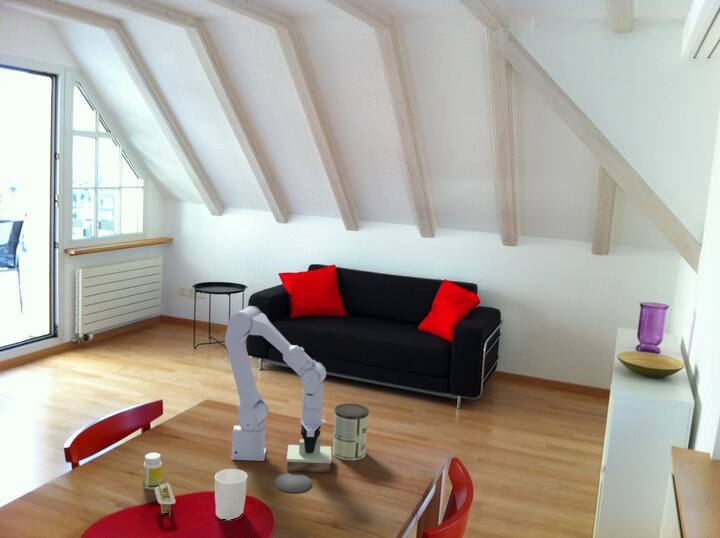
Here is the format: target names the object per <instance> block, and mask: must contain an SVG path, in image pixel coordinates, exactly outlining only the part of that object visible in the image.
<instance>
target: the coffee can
mask: <svg viewBox="0 0 720 538" xmlns="http://www.w3.org/2000/svg"><path fill="white" fill-rule="evenodd" d="M369 413H370V410H369V408H368V407H366V406H365V405H362V404H357V403H342V404H339V405H336V406H335V408H334V420H333V423H334V424H333V442H332V444H333V445H332V446H333V447H332V451H331V454H332V455H333V456H334V457H335V458H337V459H340V460H342V461H358V460H362V459H364V458H365V457H366V455H367V454H366V453H367V452H366V451H367V437H368V422H369Z"/></svg>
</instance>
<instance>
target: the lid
mask: <svg viewBox="0 0 720 538" xmlns="http://www.w3.org/2000/svg"><path fill="white" fill-rule="evenodd" d="M321 443H322V442H321V439H317V441H316V444H315V448H314V452H313V453H306V451H305V444H304V439H303V438H302V439H301V438H300V439H299V444H288V446H287V454H286V455H287V456H286V463H288V462H310V463H330V464H332V446H325V445H321Z"/></svg>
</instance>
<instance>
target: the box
mask: <svg viewBox="0 0 720 538" xmlns="http://www.w3.org/2000/svg"><path fill="white" fill-rule="evenodd" d="M286 466H287V469H286V471H287V472H298V473H299V472H301V473H302V472H303V473H322V474H323V473H324V474H325V473H326V474H327V473H329V474H330V471H331V463H310V462H287V465H286Z"/></svg>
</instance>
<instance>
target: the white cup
mask: <svg viewBox="0 0 720 538" xmlns="http://www.w3.org/2000/svg"><path fill="white" fill-rule="evenodd" d="M247 484H248V473H246V472H245V471H243V470H241V469H237V468H236V469H235V468H227V469H222V470H220V471H217V472H216V473H215V475H214V500H215V501H214V503H215V515H216V517H217V518H218V519H220V520H222V519H226V520H225V521H232V520H231V519H234V518H237V517H239V516H240V515H241V514H242V513H243V514H244V511H243V510H244V509H245V504H246V503H245V502H246V494H247V486H248V485H247Z"/></svg>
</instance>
